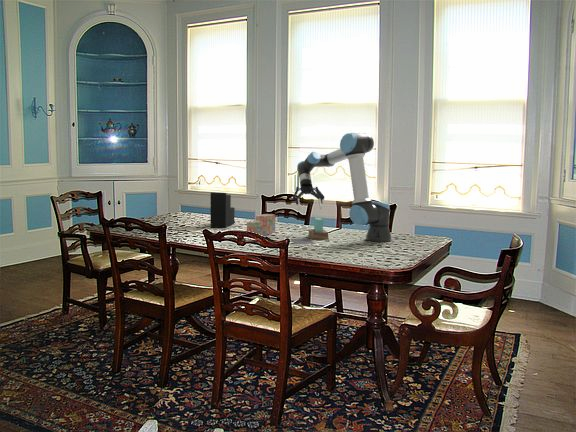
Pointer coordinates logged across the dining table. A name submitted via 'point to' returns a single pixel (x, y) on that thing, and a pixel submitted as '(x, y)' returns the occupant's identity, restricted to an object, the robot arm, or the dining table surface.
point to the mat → (302, 241)
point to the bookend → (221, 210)
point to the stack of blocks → (262, 224)
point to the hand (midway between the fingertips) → (310, 207)
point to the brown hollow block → (318, 235)
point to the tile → (318, 225)
